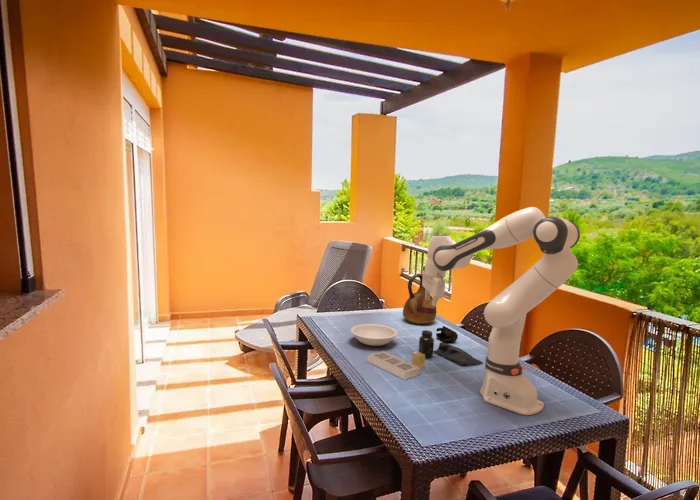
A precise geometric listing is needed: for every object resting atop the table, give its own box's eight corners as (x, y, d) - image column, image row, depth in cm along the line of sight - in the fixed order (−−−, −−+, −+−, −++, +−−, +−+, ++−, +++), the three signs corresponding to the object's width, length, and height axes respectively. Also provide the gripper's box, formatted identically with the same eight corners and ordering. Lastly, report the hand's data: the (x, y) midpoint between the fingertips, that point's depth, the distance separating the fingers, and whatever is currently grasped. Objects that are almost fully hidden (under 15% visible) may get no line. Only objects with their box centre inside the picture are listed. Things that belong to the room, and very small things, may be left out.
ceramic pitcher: (441, 326, 244) (444, 276, 240) (410, 327, 238) (413, 277, 235) (426, 317, 263) (429, 271, 259) (397, 318, 257) (400, 271, 254)
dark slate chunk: (458, 369, 181) (459, 358, 180) (430, 351, 201) (431, 342, 200) (485, 365, 187) (486, 355, 186) (455, 348, 207) (456, 339, 206)
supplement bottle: (432, 359, 189) (434, 334, 188) (417, 358, 191) (419, 333, 189) (432, 354, 196) (434, 330, 195) (418, 352, 197) (419, 328, 196)
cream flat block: (420, 374, 172) (420, 367, 171) (404, 379, 166) (404, 372, 165) (383, 357, 190) (383, 351, 189) (367, 361, 184) (367, 355, 183)
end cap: (457, 343, 214) (458, 331, 213) (445, 344, 211) (446, 332, 210) (446, 337, 223) (447, 325, 222) (435, 338, 220) (436, 326, 220)
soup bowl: (344, 348, 200) (345, 335, 199) (355, 333, 223) (356, 321, 222) (393, 354, 194) (394, 341, 193) (399, 338, 217) (400, 326, 217)
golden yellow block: (424, 367, 179) (425, 354, 179) (418, 369, 177) (419, 356, 176) (417, 364, 182) (418, 351, 182) (411, 366, 180) (412, 353, 179)
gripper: (450, 277, 165) (445, 310, 167) (435, 267, 185) (430, 296, 187) (435, 276, 164) (430, 309, 166) (421, 265, 184) (417, 295, 186)
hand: (430, 302), depth 177 cm, fingers open, 8 cm apart
